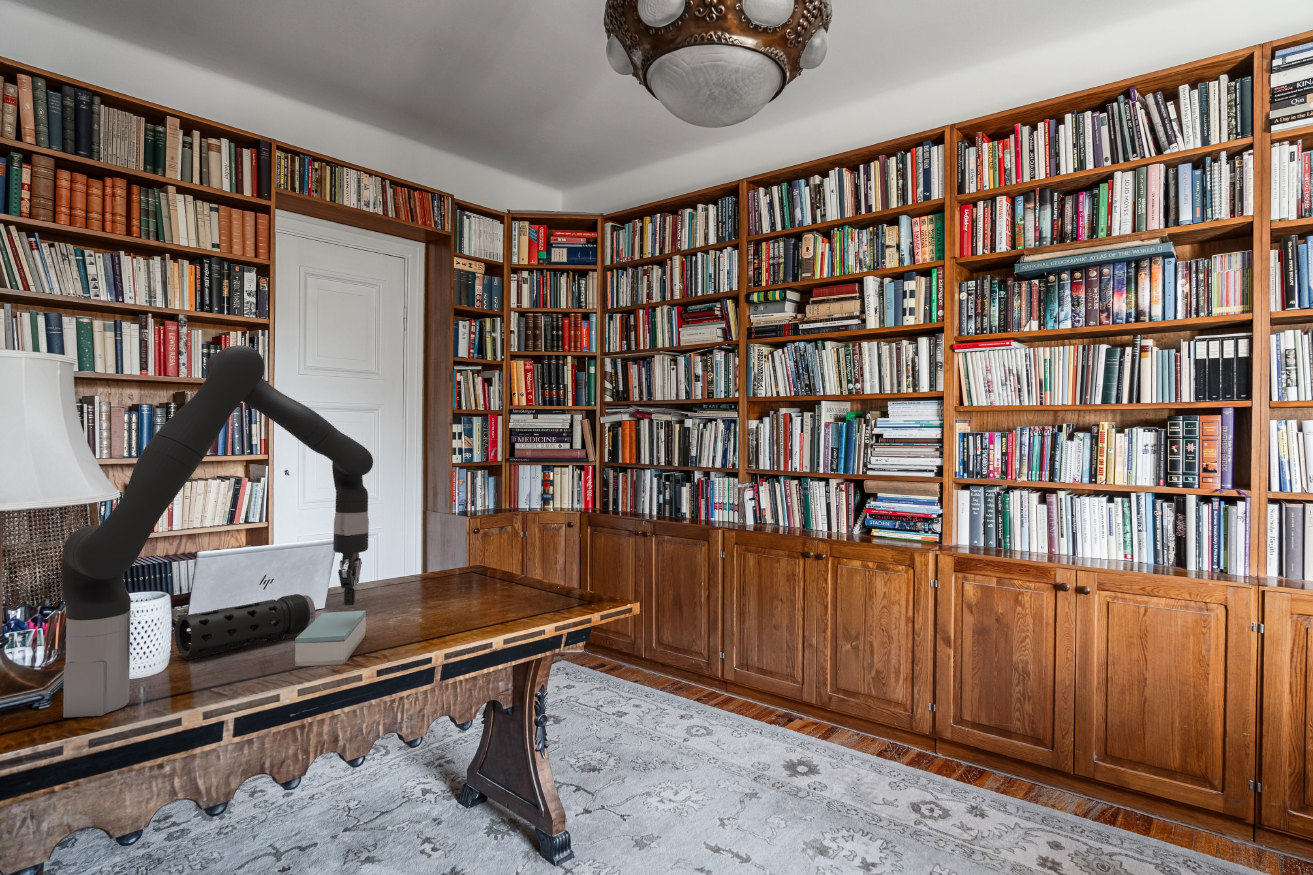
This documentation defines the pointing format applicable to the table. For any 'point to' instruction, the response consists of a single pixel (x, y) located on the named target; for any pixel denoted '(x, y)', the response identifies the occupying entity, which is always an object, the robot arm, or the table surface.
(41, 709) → the table surface
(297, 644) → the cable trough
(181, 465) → the robot arm
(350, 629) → the trough lid
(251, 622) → the muzzle brake
